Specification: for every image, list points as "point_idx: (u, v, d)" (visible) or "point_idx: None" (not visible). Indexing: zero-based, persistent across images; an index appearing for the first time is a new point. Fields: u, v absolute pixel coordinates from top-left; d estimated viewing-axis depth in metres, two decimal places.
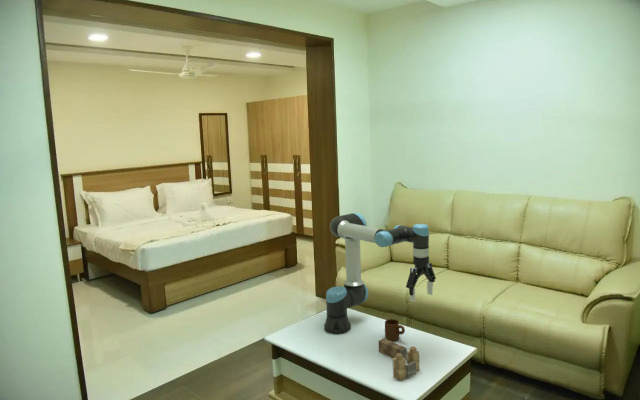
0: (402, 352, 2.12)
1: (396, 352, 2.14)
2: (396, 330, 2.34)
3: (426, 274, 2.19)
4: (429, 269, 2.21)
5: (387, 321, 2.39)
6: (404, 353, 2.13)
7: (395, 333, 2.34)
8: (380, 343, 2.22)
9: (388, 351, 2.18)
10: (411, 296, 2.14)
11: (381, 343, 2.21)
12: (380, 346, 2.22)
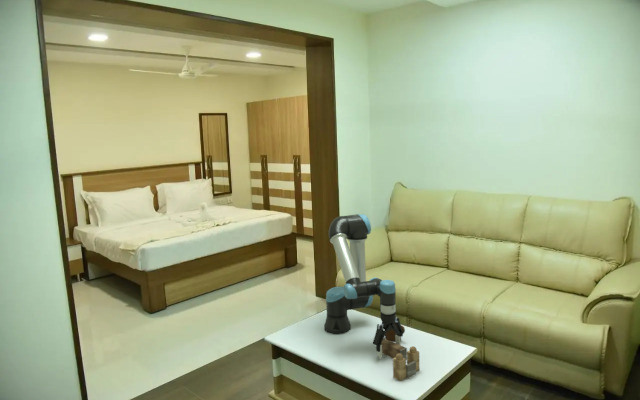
0: (402, 352, 2.12)
1: (396, 352, 2.14)
2: None
3: (394, 329, 2.21)
4: (397, 324, 2.23)
5: None
6: (404, 353, 2.13)
7: (395, 333, 2.34)
8: None
9: (388, 351, 2.18)
10: (378, 352, 2.16)
11: (381, 343, 2.21)
12: None
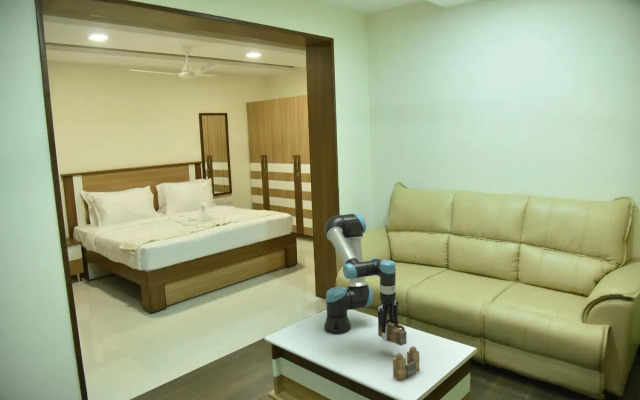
0: (402, 335, 2.11)
1: (396, 335, 2.13)
2: None
3: (390, 312, 2.19)
4: (394, 307, 2.21)
5: (387, 321, 2.39)
6: (404, 336, 2.12)
7: None
8: (380, 327, 2.21)
9: (388, 334, 2.17)
10: (383, 333, 2.18)
11: (381, 327, 2.20)
12: (380, 330, 2.21)
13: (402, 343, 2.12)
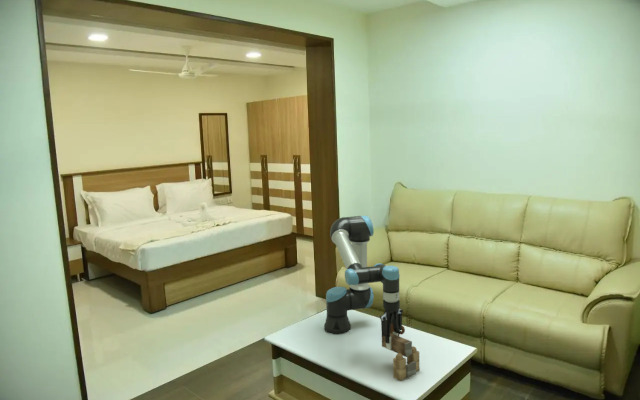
0: (407, 346, 1.98)
1: (401, 346, 2.00)
2: None
3: (394, 321, 2.06)
4: (398, 316, 2.08)
5: None
6: (409, 347, 1.99)
7: None
8: (383, 337, 2.08)
9: (392, 345, 2.04)
10: (387, 344, 2.05)
11: (384, 337, 2.07)
12: (383, 340, 2.08)
13: (407, 354, 1.99)
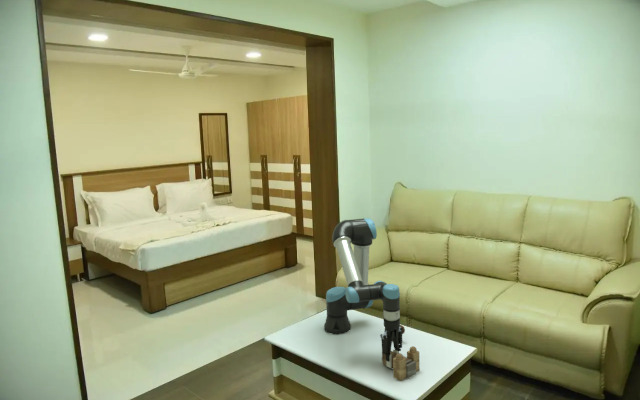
0: None
1: None
2: None
3: (394, 339, 2.07)
4: (399, 334, 2.09)
5: None
6: None
7: None
8: (384, 354, 2.09)
9: (392, 363, 2.05)
10: (388, 362, 2.07)
11: None
12: (384, 358, 2.09)
13: None
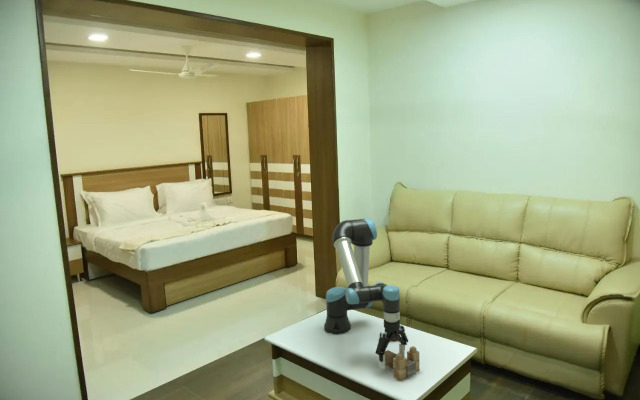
0: None
1: None
2: None
3: (397, 337, 2.09)
4: (401, 332, 2.10)
5: None
6: None
7: None
8: None
9: (392, 364, 2.05)
10: (381, 362, 2.04)
11: (385, 355, 2.09)
12: None
13: None
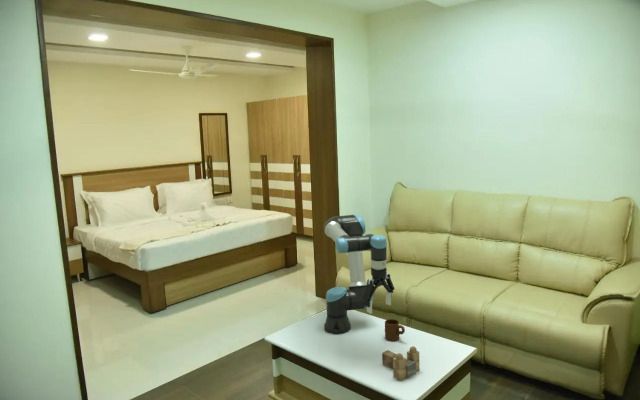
0: None
1: None
2: (396, 330, 2.34)
3: (384, 285, 2.18)
4: (387, 280, 2.19)
5: (387, 321, 2.39)
6: None
7: (395, 333, 2.34)
8: (384, 355, 2.09)
9: (392, 364, 2.05)
10: (368, 308, 2.13)
11: (385, 355, 2.09)
12: (384, 359, 2.09)
13: None
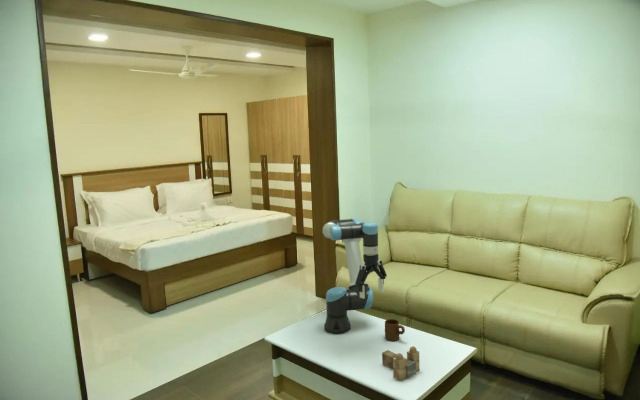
0: None
1: None
2: (396, 330, 2.34)
3: (376, 271, 2.24)
4: (380, 266, 2.26)
5: (387, 321, 2.39)
6: None
7: (395, 333, 2.34)
8: (384, 355, 2.09)
9: (392, 364, 2.05)
10: (361, 293, 2.19)
11: (385, 355, 2.09)
12: (384, 359, 2.10)
13: None
